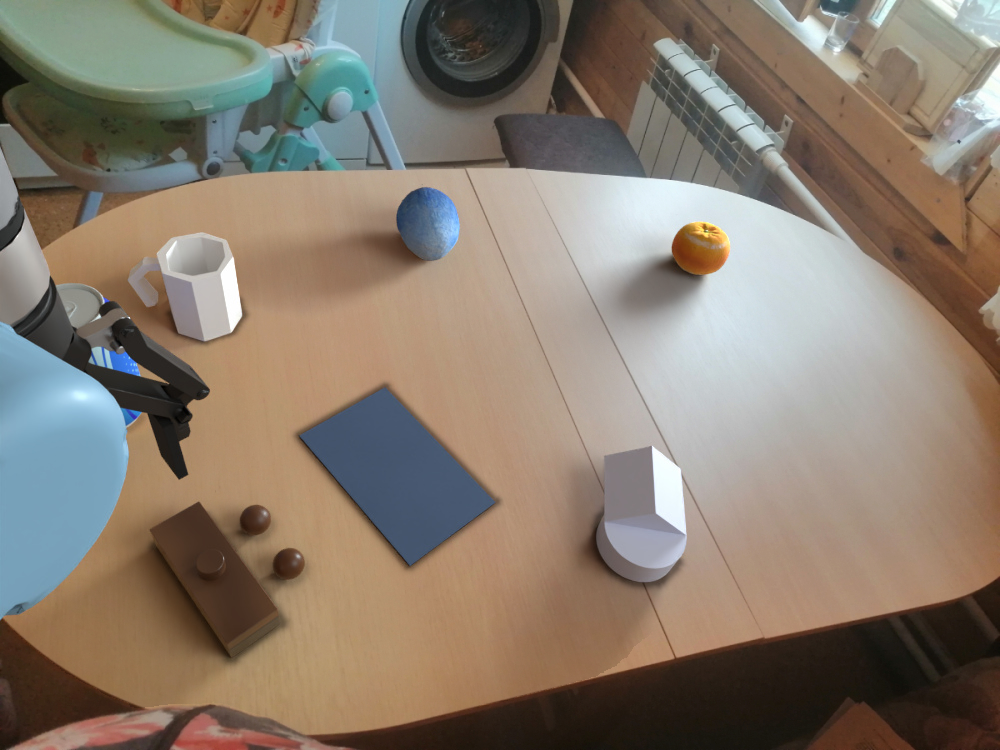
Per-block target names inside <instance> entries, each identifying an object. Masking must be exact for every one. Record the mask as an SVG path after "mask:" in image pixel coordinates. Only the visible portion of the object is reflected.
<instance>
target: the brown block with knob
mask: <svg viewBox="0 0 1000 750" xmlns="http://www.w3.org/2000/svg"><path fill="white" fill-rule="evenodd" d="M149 532H150V534H151V537H152V539H153V542H154V544H155V546H156V548H157V549H158V551H159V552H160V554H161V555H162V557H163V559H164V560H165V561H166V563H167V565H168V566H169V567H170V569H171V570H172V572H173V573H174V575H175V576H176V578H177V579H178V581H179V582H180V583H181V585H182V587H183V588H184V590H185V591H186V592H187V594H188V596H189V597H190V598H191V600H192V601H193V603H194V604H195V606H196V607H197V609H198V611H199V613H201V615H202V616H203V617H204V620H206V622H207V624H208V625H209V626H210V628H211V630H212V631H213V632H214V634H215V635H216V637H217V639H218V640H219V641H220V643H221V644H222V646H223V647H224V649H225V650H226V652H227V654H228V655H229V656H230V658H234V657H235V656H237V655H238V654H240V653H241V652H242V651H244V650H245V649H247V648H248V647H250V646H251V645H253V643H255V642H257V641H258V640H260V639H261V638H262V637H264V636H265V635H266V634H268V633H269V632H271V631H272V630H274V629H275V628H276V627H278V626H280V624H281V619H280V613H279V608H278V607H277V606H276V604H275V603H274V602H273V600H272V598H271V597H270V595H268V593H267V592H266V590H265V588H263V586H262V585H261V584H260V581H258V579H257V578H256V577H255V575H254V574H253V573H252V571H251V570H250V569H249V567H248V566H247V564H246V563H245V562H244V560H243V559H242V558H241V556H240V555H239V554H238V552H237V550H235V548H234V547H233V546H232V544H231V543H230V541H229V540H228V538H227V537H226V536H225V534H224V533H223V531H222V530H221V529H220V527H219V526H218V525H217V523H216V522H215V521H214V519H213V518H212V517H211V515H210V514H209V512H208V511H207V510H206V508H205V507H204V506H203V504H202V503H201V502H200V501H197V502H195V503H193V504H192V505H190V506H188V507H186V508H184V509H182V510H181V511H179V512H177V513H175V514H173V516H170V517H169V518H167V519H165V520H163V521H161V522H160V523H158V524H156V525H155V526H152V527H151V528H150V529H149Z"/></svg>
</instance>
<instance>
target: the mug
mask: <svg viewBox="0 0 1000 750" xmlns="http://www.w3.org/2000/svg"><path fill="white" fill-rule="evenodd" d="M148 272H160V273H161V278H162V280H163V284H164V288H165V292H166V296H167V300H168V303H169V307H170V311H171V315H172V318H173V321H174V325H175V327H176V330H177V331H176V332H177V333H178V334H180V335H182V336H186V337H189V338H192V339H195V340H199V341H202V342H208V341H211V340H213V339H216V338H220V337H223V336H226V335H230V334H232V332H233V331H234V329H235V328H236V326H237V325H238V324H239V322H240V320H241V319H242V317H243V310H242V305H241V298H240V291H239V285H238V279H237V272H236V266H235V258H234V256H233V253H232V249H231V248H230V245H229V242H228V240H227V239H225V238H221V237H218V236H215V235H212V234H209V233H206V232H203V231H201V232H194V233H190V234H189V233H188V234H184V235H179V236H172V237H170V239H169V240H168V241H167V242H166V243H165V244H164V245H163V246H162V247H161V248H160V249H159V250H158V251H157V253H156V257H152V256H144V257H143V258H141V260H139V262H137V264H135V265H134V266H133V267H131V269H130V271H129V274H128V278H127V282H128V283H129V285H130V286H131V288H132V289H133V290H134V291H135V293H136V294H137V296H138V297H139V298H140V300H141V301H142V302H143V304H144V305H145V307H146V308H150V307H153V306H156V305H157V303H158V301H159V292H158V291H157V289H156V288H155V287H154V286H153V285H152V284H151V282H149V280H148V279H147V278H146V277H145V275H146V274H148Z"/></svg>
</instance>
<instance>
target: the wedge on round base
mask: <svg viewBox="0 0 1000 750" xmlns="http://www.w3.org/2000/svg"><path fill="white" fill-rule="evenodd" d="M603 475H604V476H603V482H604V484H603V486H604V487H603V490H604V491H603V492H604V493H603V495H604V497H603V498H604V500H603V501H604V504H603V505H604V506H603V507H604V509H603V510H604V511H603V512H604V514H603V515H602V517H601V520H600V521H599V522H598V526H597V528H596V534H595V535H596V536H595V538H596V539H595V540H596V541H595V542H596V546H597V549H598V552H599V555H600V557H601V558H602V560H603V561H604V563H605V564H606V565H607V567H609V568H610V569H611V570H612V571H613V572H615V573H616V574H617V575H619V576H621V577H622V578H625V579H627V580H629V581H632V582H638V583H651V582H655V581H658V580H660V579H662V578H664V577H665V576H666V575H667V574H669V572H670V571H671V570H672V568H673V567H674V566H675V565H676V563H677V562H678V561H679V559H680V558H681V557H682V556H683V554H684V552H685V550H686V547H687V542H688V541H687V540H688V539H687V537H688V535H687V525H686V512H685V502H684V501H685V500H684V491H683V478H682V469H681V468H680V467H679V466H678V465H676V464H675V463H674V461H672V460H671V459H669V458H668V457H667V456H666V455H664V454H663V453H662V452H660V450H659V449H656V447H654V446H653V445H650V446H645V447H640V448H635V449H631V450H626V451H621V452H616V453H611V454H607V455H603Z"/></svg>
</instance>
